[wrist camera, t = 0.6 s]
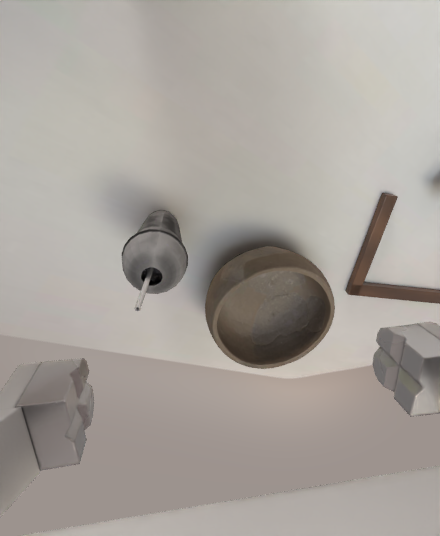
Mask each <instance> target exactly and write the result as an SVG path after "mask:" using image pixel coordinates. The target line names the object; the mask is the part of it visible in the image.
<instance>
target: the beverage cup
mask: <svg viewBox="0 0 440 536" xmlns="http://www.w3.org/2000/svg"><path fill="white" fill-rule="evenodd" d="M122 265H123V271H124V273H125V276H126V278H127V280H128V281H129V282H130V283H131V284H132V285H133V286H134V287H135V288H137V289H138V290H140V291H141V292H140V295H139V298H138V301H137V304H136V306H135V310H136V311H140V309H141V306H142V303H143V300H144V297H145V294H146V293H149V294H159V293H162V292H166V291H168V290H170V289H172V288H173V287H175V286H176V285H177V284H178V282H179V281H180V280H181V279H182V277H183V275H184V273H185V271H186V268H187V265H188V255H187V252H186V249H185V247H184V245H183V244H182V240H181V235H180V230H179V226H178V223H177V220H176V218H175V217H174V215H172V214H171V213H170V212H167V211H160V210H159V211H156V212H153V213H152V214H150V216H149V217H148V218H147V219H146V221H145V222H144V223H143V225H142V226H141V228H140V229H139V231H138V232H137V233H136V234H135V235H134V236H132V237H131V238H130V239H129V240H128V241H127V243H126V244H125V245H124V248H123V252H122Z"/></svg>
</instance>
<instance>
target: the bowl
mask: <svg viewBox="0 0 440 536" xmlns="http://www.w3.org/2000/svg"><path fill="white" fill-rule="evenodd" d="M334 309H335V306H334V297H333V294H332V291H331V288H330V286H329V284H328V282H327V280H326V278H325V277H324V275H323V274H322V272H321V271H320V270H319V269H318V268H317V267H316V266H315V265H314V264H313V263H312V262H310V261H309V260H308V259H306V258H305V257H303V256H301V255H299V254H297V253H295V252H292V251H288V250H285V249H282V248H278V247H272V246H268V247H260V248H257V249H253V250H250V251H247V252H245V253H243V254H240V255H238V256H237V257H235V258H234V259H232V260H230V261H229V262H227V263H226V264H225V265H224V266H223V267H222V268H221V269H220V270H219V271H218V272H217V273H216V275H215V276H214V278H213V280H212V282H211V284H210V287H209V290H208V293H207V298H206V304H205V313H206V320H207V324H208V327H209V330H210V333H211V335H212V337H213V339H214V341H215V342H216V344H217V345H218V347H219V348H220V349H221V350H222V352H223V353H224V354H225V355H227V356H228V357H229V358H231V359H232V360H234V361H235V362H237V363H240V364H242V365H245V366H248V367H252V368H261V369H266V368H274V367H279V366H282V365H285V364H288V363H291V362H294V361H296V360H298V359H300V358H302V357H303V356H305V355H306V354H307V353H309V352H310V351H311V350H313V349H314V348H315V347H316V346H317V345H318V344H319V343H320V342H321V340H322V339H323V338H324V337H325V335H326V334H327V332H328V331H329V328H330V326H331V324H332V320H333V317H334Z"/></svg>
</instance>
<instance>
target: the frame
mask: <svg viewBox="0 0 440 536" xmlns="http://www.w3.org/2000/svg"><path fill="white" fill-rule="evenodd" d="M396 200H397V196H395V195H392V194H386V193H382V195H381V198H380V201H379V203H378V206H377V209H376V211H375V214H374V217H373V219H372V222H371V225H370V227H369V230H368V233H367V235H366V238H365V241H364V243H363V246H362V249H361V251H360V254H359V257H358V259H357V262H356V265H355V267H354V270H353V273H352V275H351V278H350V281H349V283H348V286H347V288H346V292H347V293H348V294H349V295H358V296H368V297H378V298H389V299H399V300H409V301H419V302H429V303H440V290H434V289H424V288H415V287H405V286H396V285H386V284H376V283H367V282H364V280H365V278H366V275H367V273H368V270H369V268H370V265H371V263H372V260H373V258H374V255H375V253H376V250H377V248H378V245H379V243H380V240H381V238H382V235H383V233H384V230H385V228H386V225H387V223H388V220H389V217H390V215H391V212H392V210H393V207H394V205H395V202H396Z"/></svg>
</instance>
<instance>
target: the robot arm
mask: <svg viewBox="0 0 440 536" xmlns="http://www.w3.org/2000/svg"><path fill="white" fill-rule="evenodd" d="M376 341H377V343H378V345H379V346H380V348H379V349H378V350H377V351H376V352H375V354H374V358H373V368H374V372H375V375H376V377H377V379H378V381H379V382H380V383H381V384H382V385H383V386H384V387H385V388H387V389H389V390H391V391H393V392H394V399H395V400H396V401H397V402H398V403H399V404H400V405H401V407H402V408H403V409H404V410H405V411H406V412H407V413H408V414H409V415H410V416H421V415H430V414H439V413H440V326H439V325H438V324H436V323H433V322H424V323H417V324H412V325H404V326H396V327H387V328H381V329H380V330H379V332H378V334H377V339H376ZM88 374H89V369H88V365H87V361H86V360H85V359H84V358H82V359H71V360H58V361H46V362H35V363H26V364H21V365H19V366H18V367H17V368H16V370H15V371H14V373H13V374H12V375H11V377H10V378H9V380H8V381H7V383H6V384H5V386H4V387H3V389H2V390H1V392H0V518H1V516H2V515H3V514H4V513H5V512H6V511H7V510H8V509H9V507H10V506H11V505H12V504H13V503H14V502H15V501H16V500H17V498H18V497H19V496H20V495H21V494H22V493H23V492H24V491H25V489H26V488H27V487H28V486H29V485H30V484H31V483H32V481H34V479H35V478H36V477H37V476H38V475H39V474H40V471H41V470H46V469H52V468H58V467H64V466H69V465H76V464H80V461H81V457H82V454H83V450H84V447H85V443H86V435H85V429H86V428H88V427H89V426H90V424H91V421H92V417H93V409H94V397H93V389H92V386H91V385H90V384H89V383H87V382H86V380H87V377H88ZM20 536H440V466H435V467H429V468H423V469H417V470H411V471H405V472H399V473H393V474H387V475H381V476H375V477H368V478H363V479H357V480H350V481H344V482H338V483H333V484H326V485H320V486H315V487H309V488H302V489H296V490H290V491H284V492H279V493H272V494H266V495H260V496H255V497H249V498H242V499H236V500H231V501H224V502H219V503H212V504H206V505H201V506H195V507H188V508H182V509H176V510H171V511H164V512H159V513H152V514H146V515H140V516H134V517H128V518H122V519H116V520H111V521H104V522H98V523H92V524H86V525H80V526H74V527H68V528H62V529H57V530H50V531H44V532H39V533H32V534H26V535H20Z"/></svg>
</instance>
